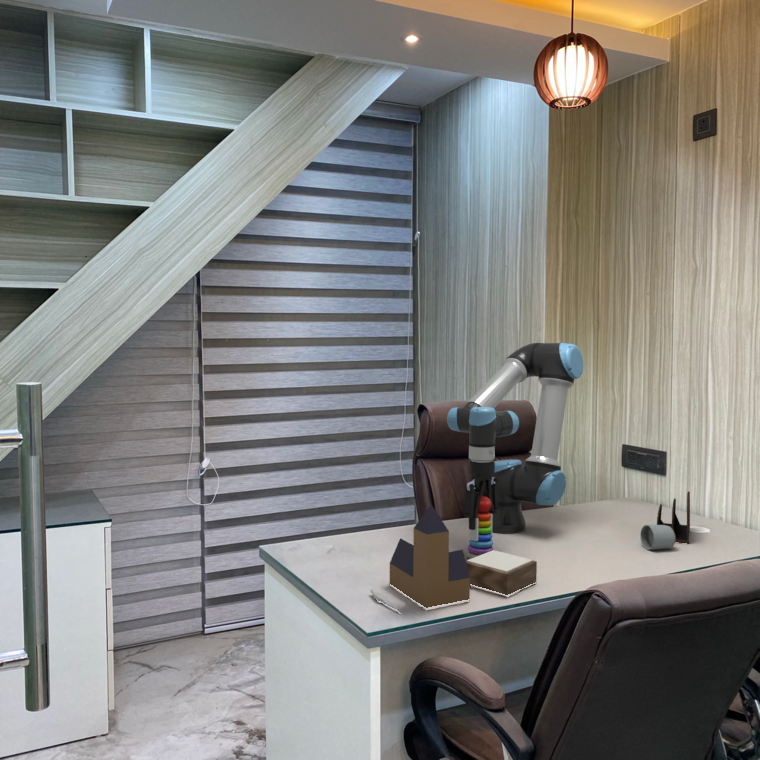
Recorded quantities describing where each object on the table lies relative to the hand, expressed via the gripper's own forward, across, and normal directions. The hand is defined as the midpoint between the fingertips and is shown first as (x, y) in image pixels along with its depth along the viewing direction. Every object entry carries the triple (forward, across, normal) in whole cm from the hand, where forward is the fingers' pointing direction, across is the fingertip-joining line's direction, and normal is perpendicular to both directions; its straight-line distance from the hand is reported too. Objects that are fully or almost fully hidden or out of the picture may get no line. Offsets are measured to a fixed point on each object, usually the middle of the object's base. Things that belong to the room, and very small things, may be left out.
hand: (480, 537), depth 210 cm
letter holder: (+7, +65, -31) cm, 73 cm away
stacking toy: (+7, 0, 0) cm, 7 cm away
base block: (+6, -14, -16) cm, 22 cm away
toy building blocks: (+7, -33, -7) cm, 34 cm away
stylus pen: (+7, -46, -4) cm, 46 cm away
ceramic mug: (+7, +47, -33) cm, 57 cm away
